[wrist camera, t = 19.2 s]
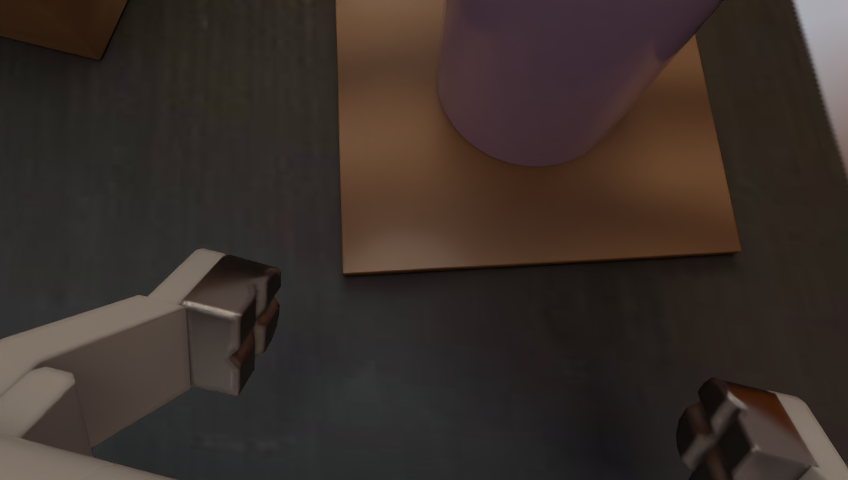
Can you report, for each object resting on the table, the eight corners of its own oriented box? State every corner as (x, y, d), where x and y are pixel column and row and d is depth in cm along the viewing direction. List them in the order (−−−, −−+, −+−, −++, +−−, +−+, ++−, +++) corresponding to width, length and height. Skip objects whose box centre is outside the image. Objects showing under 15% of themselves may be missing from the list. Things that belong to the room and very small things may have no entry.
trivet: (734, 254, 17) (742, 251, 17) (343, 276, 16) (342, 274, 16) (666, -68, 20) (671, -77, 20) (334, -59, 19) (333, -68, 19)
